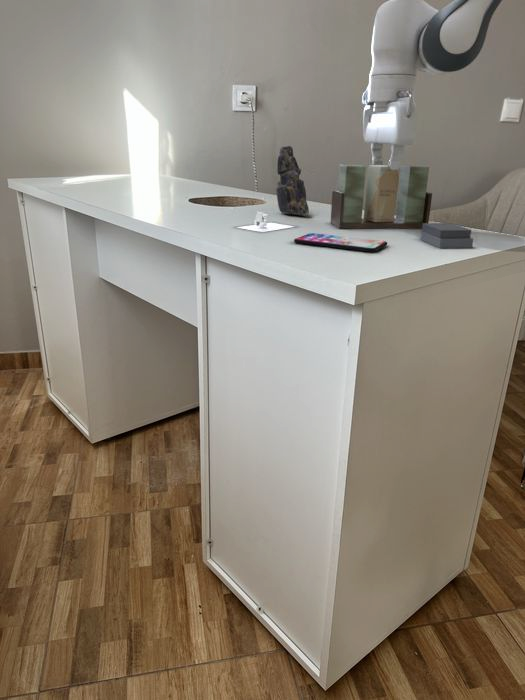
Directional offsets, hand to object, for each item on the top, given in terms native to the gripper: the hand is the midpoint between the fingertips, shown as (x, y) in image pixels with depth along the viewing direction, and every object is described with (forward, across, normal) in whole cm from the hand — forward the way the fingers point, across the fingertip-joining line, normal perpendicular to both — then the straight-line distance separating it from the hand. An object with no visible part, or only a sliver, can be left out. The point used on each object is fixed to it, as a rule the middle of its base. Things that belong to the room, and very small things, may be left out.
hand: (385, 168), depth 113 cm
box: (+11, 0, 0) cm, 11 cm away
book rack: (+12, 0, 0) cm, 12 cm away
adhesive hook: (+12, -1, +24) cm, 27 cm away
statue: (+12, +17, +15) cm, 26 cm away
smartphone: (+12, -20, +14) cm, 27 cm away
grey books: (+12, -20, -5) cm, 24 cm away
